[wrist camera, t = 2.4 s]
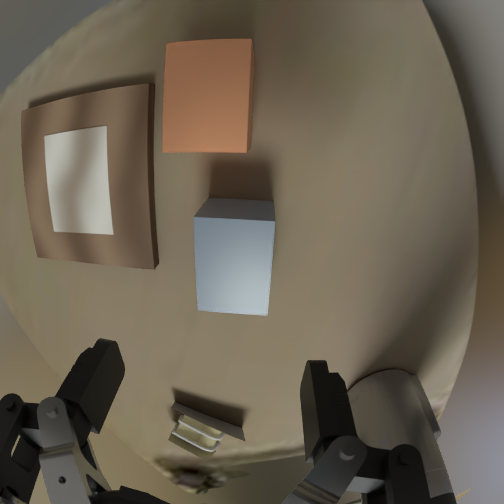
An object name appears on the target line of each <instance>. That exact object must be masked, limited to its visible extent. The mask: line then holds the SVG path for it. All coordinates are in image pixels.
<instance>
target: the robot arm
mask: <svg viewBox="0 0 504 504" xmlns="http://www.w3.org/2000/svg"><path fill="white" fill-rule="evenodd" d="M124 374H125V366H124V362H123V359H122V356H121V353H120V350H119V347H118V344H117V342H116V341H112V340H107V339H102V338H100V339H98V340H97V342H96V343H95V345H94V347H93V348H90V347H89V348H88V349H86V350H85V351H84V352H83V353H81V354H80V356H79V357H78V359H77V360H76V362H75V364H74V365H73V367H72V369H71V371H70V372H69V373H68V375H67V377H66V378H65V380H64V382H63V383H62V385H61V387H60V389H59V390H58V392H57V394H56V395H55V396H54V397H48V398H45V399H44V400H42V401H41V402H40V403H39V404H37V403H25V402H23V400H22V399H21V398H20V396H18V395H17V394H13V393H12V394H7V395H5V396H4V397H3V398H2V399H1V400H0V504H29V501H30V498H31V495H32V492H33V489H34V485H35V482H36V479H37V476H38V473H39V471H40V468H41V470H42V474H43V478H44V481H45V485H46V488H47V492H48V495H49V498H50V502H51V504H170V503H167V502H165V501H163V500H160V499H159V498H156V497H154V496H152V495H150V494H148V493H146V492H142V491H138V490H134V489H131V488H128V487H124V486H121V487H120V490H111V488H110V486H109V484H108V482H107V481H106V479H105V478H104V476H103V474H102V472H101V470H100V468H99V465H98V462H97V460H96V457H95V454H94V451H93V449H92V446H91V443H90V440H89V438H88V435H89V433H90V431H91V432H94V433H97V434H99V433H100V431H101V428H102V426H103V423H104V421H105V419H106V416H107V414H108V412H109V409H110V407H111V405H112V402H113V400H114V398H115V395H116V393H117V391H118V389H119V386H120V384H121V382H122V380H123V377H124ZM300 400H301V410H302V421H303V432H304V444H305V456H306V462H314V467H313V469H312V470H311V471H310V472H309V474H308V475H307V476H306V477H305V478H304V480H303V481H302V482H301V483H300V484H299V485H298V486H297V487H296V488H295V489H294V490H293V491H292V493H291V494H290V495H289V496H288V497H287V498H286V500H284V502H283V503H282V504H337V503H338V501H339V499H340V498H341V496H342V495H343V493H344V492H345V491H346V490H347V491H354V492H360V494H361V501H362V504H456V500H455V496H454V493H453V490H452V486H451V483H450V480H449V476H448V473H447V470H446V467H445V464H444V461H443V458H442V455H441V452H440V449H439V446H438V444H437V439H438V437H440V435H441V430H440V427H439V425H438V422H437V420H436V417H435V415H434V412H433V410H432V408H431V405H430V403H429V401H428V398H427V396H426V394H425V391H424V389H423V387H422V385H421V382H420V380H419V378H418V376H417V375H410V374H408V373H407V372H405V371H403V370H396V369H394V370H386V371H381V372H378V373H375V374H372V375H370V376H368V377H366V378H364V379H363V380H361V381H359V382H358V383H357V384H355V385H354V386H353V387H352V388H351V389H350V390H349V391H348V393H347V389H346V385H345V381H344V380H343V379H342V378H341V376H340V375H339V374H338V373H329V370H328V366H327V362H326V360H308V361H307V363H306V366H305V370H304V374H303V378H302V382H301V387H300ZM18 435H20V436H21V437H20V439H19V441H18V443H17V446H16V448H15V451H14V453H13V456H12V457H11V451H12V449H13V446H14V444H15V442H16V440H17V437H18Z"/></svg>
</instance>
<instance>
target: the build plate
mask: <svg viewBox="0 0 504 504" xmlns="http://www.w3.org/2000/svg"><path fill="white" fill-rule="evenodd" d="M154 93H155V85H153V84H150V83H147V84H138V85H131V86H124V87H117V88H111V89H106V90H100V91H95V92H90V93H85V94H81V95H76V96H72V97H68V98H64V99H60V100H56V101H53V102H49V103H45V104H42V105H39V106H35V107H32V108H29V109H26V110H23V111H22V115H21V134H22V158H23V172H24V182H25V191H26V198H27V205H28V212H29V218H30V223H31V229H32V234H33V239H34V243H35V248H36V252H37V256H38V257H40V258H49V259H57V260H66V261H75V262H84V263H93V264H102V265H112V266H122V267H132V268H143V269H154V270H155V268H156V267H157V265H158V264H159V258H158V247H157V234H156V220H155V201H154V172H153V121H154Z"/></svg>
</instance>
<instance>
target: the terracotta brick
mask: <svg viewBox="0 0 504 504" xmlns="http://www.w3.org/2000/svg"><path fill="white" fill-rule="evenodd" d="M254 64H255V56H254V50H253V44H252V39H208V40H193V41H182V42H173V43H167V45H166V58H165V74H164V96H163V153H168V152H232V153H247V152H248V150H249V149H250V148H251V131H252V108H253V86H254Z"/></svg>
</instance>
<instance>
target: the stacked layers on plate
mask: <svg viewBox="0 0 504 504" xmlns="http://www.w3.org/2000/svg"><path fill="white" fill-rule="evenodd" d="M171 408H172V409H174V410H176V411H178V412H180V413H182V414H184V415H182V414H181V415H180V418H179V420H178V422H179V423H176V425H175V427H174V429H173V431H172V432H171V435H170V437H169V439H168V440H169V441H171V442H172V443H174V444H176V445H178V446H180V447H181V448H183V449H185V450H187V451H189V452H191V453H193V454H195V455H197V456H199V457H202V458H210V457H211V456H212V455H213V454H214V453H215V452H216V450H215V449H216V448H217V447H218V446H219V445H220V442H219V440H221V439H222V438H223V437H224V436H225V435H226V434H228V435H230V436H233V437H235V438H238V439H240V440H243V441H245V437H244V433H243V429H242V428H241V427H238V426H235V425H232V424H229V423H226V422H224V421H221V420H218V419H216V418H213V417H210V416H208V415H205V414H203V413H200V412H198V411H195V410H193V409H190V408H188V407H186V406H183V405H181V404H179V403H177V402H174V404H173V406H172V407H171Z"/></svg>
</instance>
